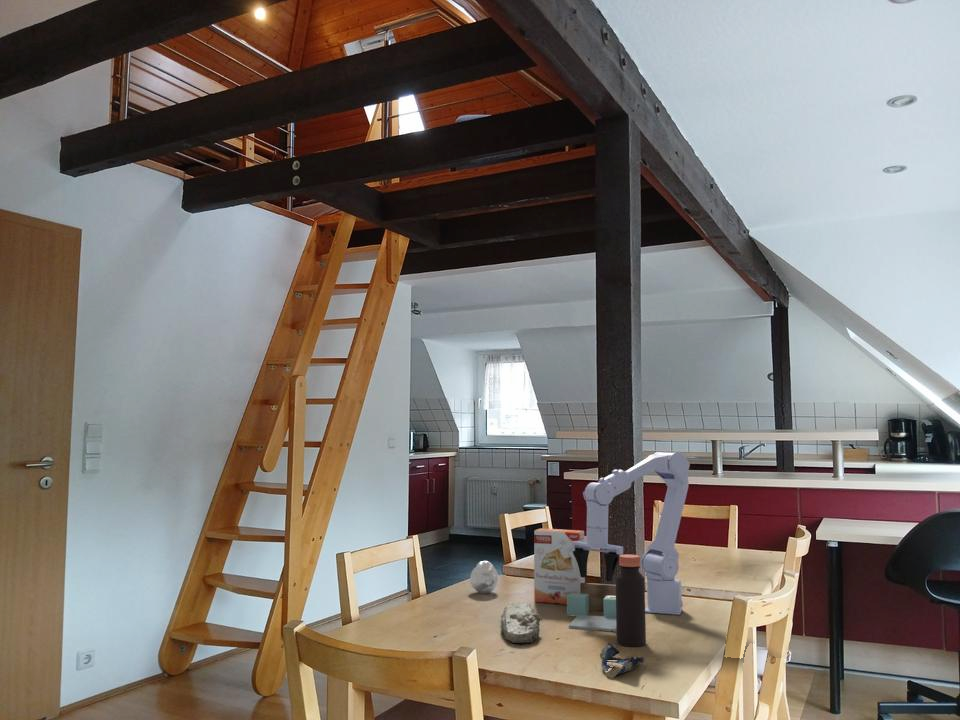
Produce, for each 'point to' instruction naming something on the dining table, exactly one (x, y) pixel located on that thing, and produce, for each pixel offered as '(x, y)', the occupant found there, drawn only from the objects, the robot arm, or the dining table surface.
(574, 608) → the blank cube
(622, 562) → the bottle
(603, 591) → the walnut screen
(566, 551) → the cracker box
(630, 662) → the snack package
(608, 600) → the lettered cube
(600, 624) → the slate tile
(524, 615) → the elongated rock
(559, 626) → the dining table surface
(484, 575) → the grey egg-shaped stone
